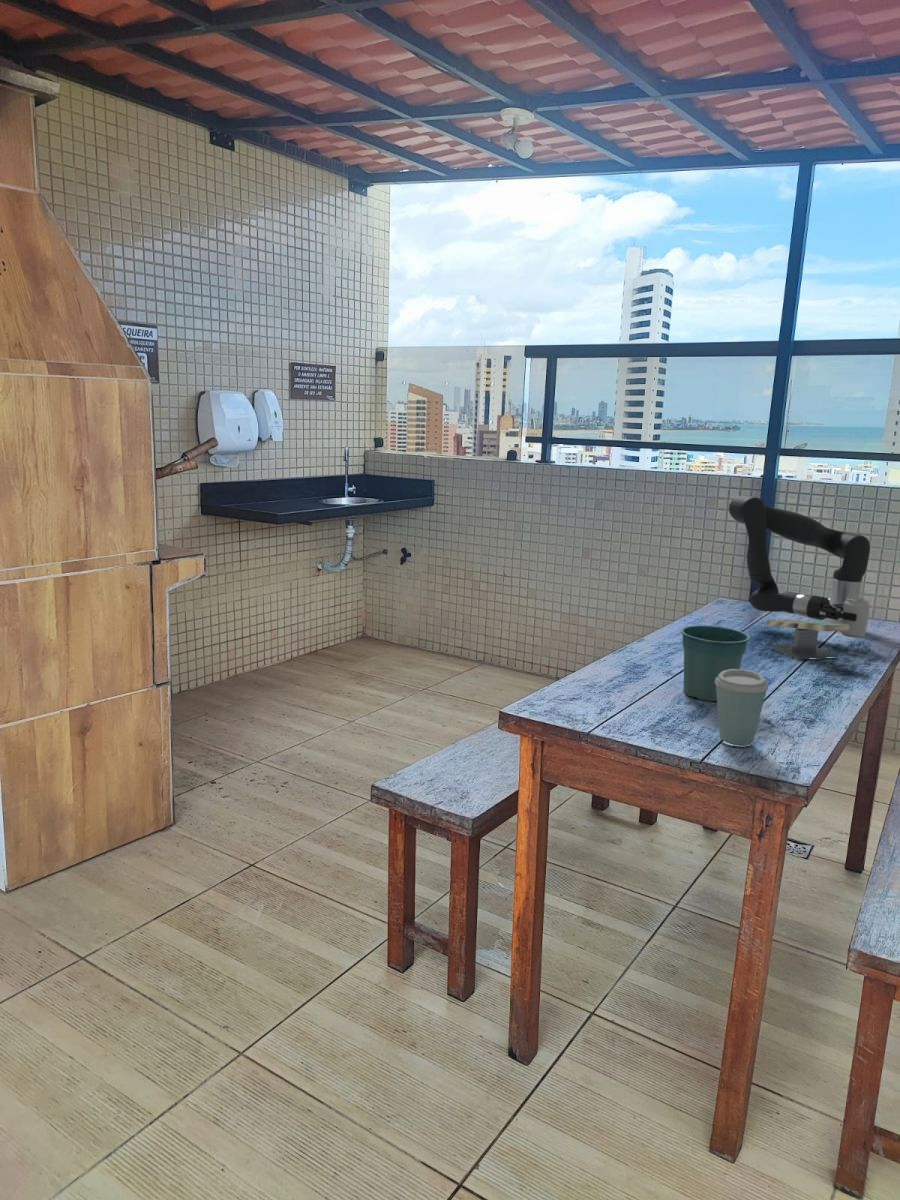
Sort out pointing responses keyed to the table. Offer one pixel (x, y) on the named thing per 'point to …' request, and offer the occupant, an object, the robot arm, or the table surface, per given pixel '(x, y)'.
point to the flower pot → (710, 657)
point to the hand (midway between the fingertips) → (861, 616)
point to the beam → (809, 625)
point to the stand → (804, 646)
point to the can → (862, 612)
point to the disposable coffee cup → (739, 704)
